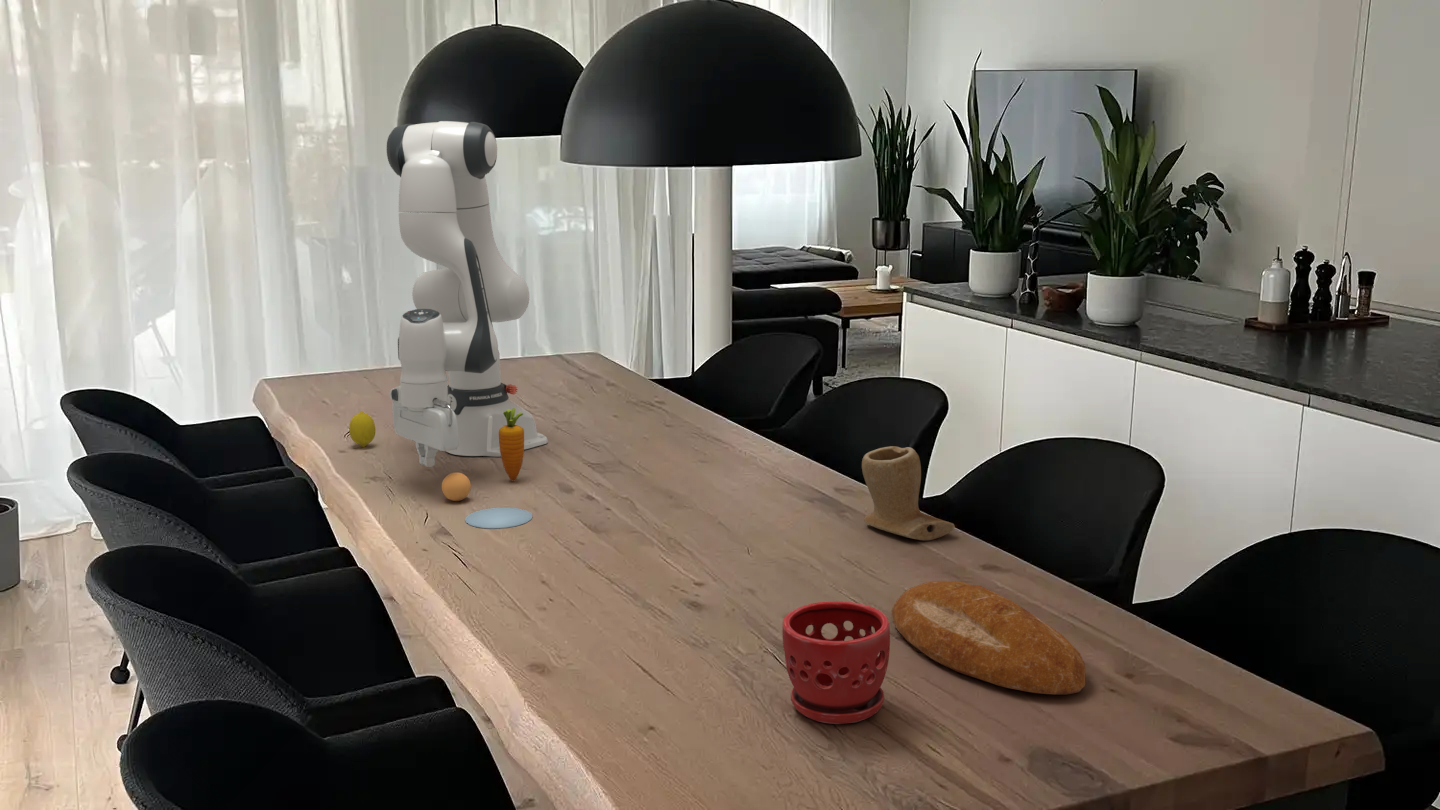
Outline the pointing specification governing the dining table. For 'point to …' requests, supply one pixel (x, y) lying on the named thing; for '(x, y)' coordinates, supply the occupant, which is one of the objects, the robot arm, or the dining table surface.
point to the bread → (988, 638)
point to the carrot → (511, 444)
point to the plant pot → (836, 661)
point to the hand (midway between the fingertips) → (427, 465)
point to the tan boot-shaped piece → (899, 494)
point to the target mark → (498, 518)
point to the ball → (456, 486)
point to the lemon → (362, 429)
